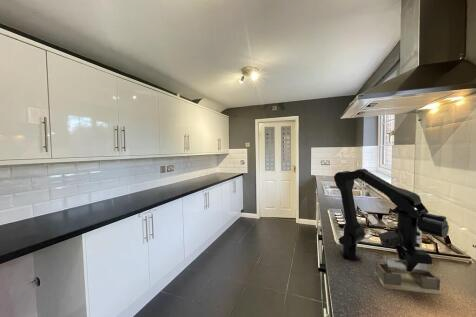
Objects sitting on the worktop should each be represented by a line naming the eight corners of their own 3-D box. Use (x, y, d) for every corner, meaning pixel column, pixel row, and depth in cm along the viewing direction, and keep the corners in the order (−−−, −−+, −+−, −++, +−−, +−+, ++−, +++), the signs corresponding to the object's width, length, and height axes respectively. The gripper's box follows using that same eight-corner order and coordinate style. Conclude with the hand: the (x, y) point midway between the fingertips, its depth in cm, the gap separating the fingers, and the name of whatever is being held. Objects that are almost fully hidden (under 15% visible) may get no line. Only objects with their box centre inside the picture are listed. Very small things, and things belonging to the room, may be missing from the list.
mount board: (374, 273, 82) (374, 270, 82) (424, 278, 79) (424, 275, 79) (384, 288, 74) (384, 284, 74) (440, 294, 70) (440, 291, 70)
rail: (420, 268, 77) (420, 258, 76) (427, 275, 73) (428, 265, 73) (384, 265, 79) (384, 255, 79) (389, 271, 76) (389, 261, 75)
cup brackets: (375, 271, 82) (375, 262, 82) (425, 276, 78) (425, 266, 78) (384, 284, 75) (384, 274, 74) (439, 290, 71) (440, 279, 70)
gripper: (371, 216, 86) (370, 252, 87) (394, 237, 68) (393, 282, 69) (402, 218, 83) (401, 254, 84) (435, 239, 65) (432, 286, 66)
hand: (405, 267), depth 76 cm, fingers closed on rail, 4 cm apart
